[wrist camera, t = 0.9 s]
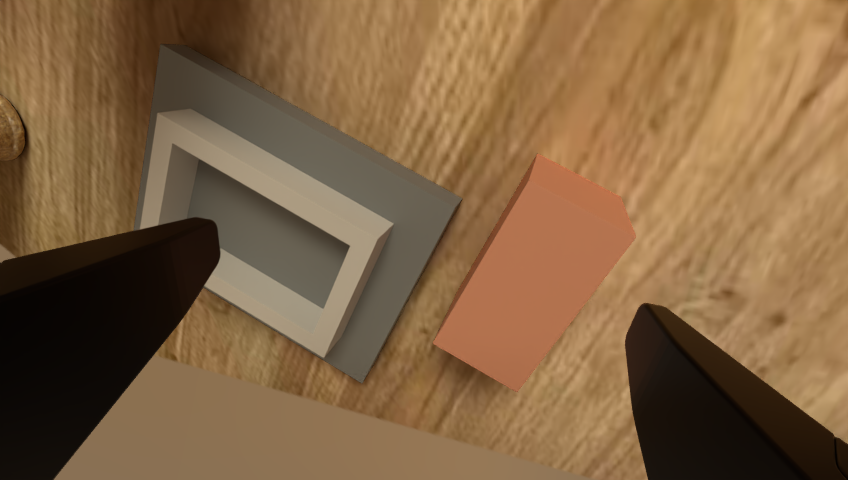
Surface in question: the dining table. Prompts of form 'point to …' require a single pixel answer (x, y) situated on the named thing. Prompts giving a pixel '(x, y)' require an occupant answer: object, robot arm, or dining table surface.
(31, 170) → the dining table surface
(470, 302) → the block
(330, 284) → the pocket board
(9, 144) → the sprinkles bottle
